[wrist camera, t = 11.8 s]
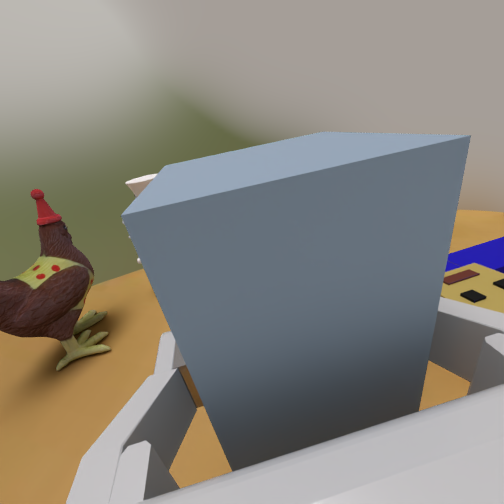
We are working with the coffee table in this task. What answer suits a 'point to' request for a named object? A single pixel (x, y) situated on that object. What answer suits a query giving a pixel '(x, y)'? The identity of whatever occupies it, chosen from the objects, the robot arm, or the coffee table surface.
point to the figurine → (52, 292)
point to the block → (303, 280)
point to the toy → (476, 276)
